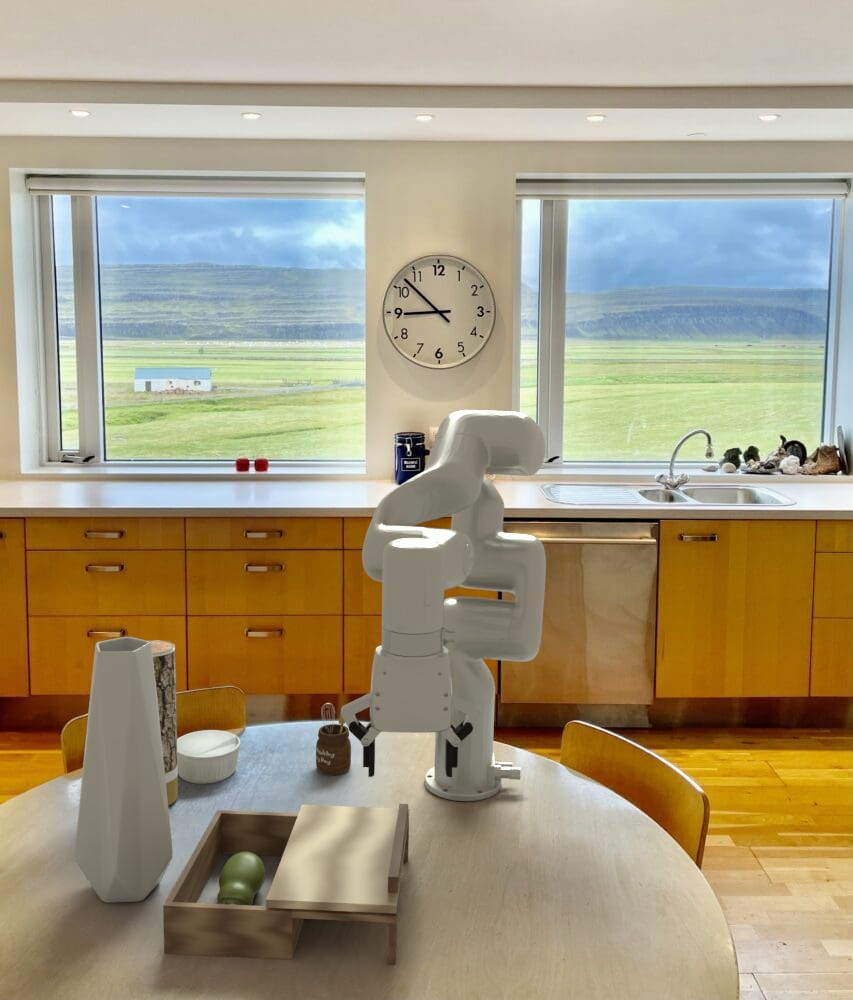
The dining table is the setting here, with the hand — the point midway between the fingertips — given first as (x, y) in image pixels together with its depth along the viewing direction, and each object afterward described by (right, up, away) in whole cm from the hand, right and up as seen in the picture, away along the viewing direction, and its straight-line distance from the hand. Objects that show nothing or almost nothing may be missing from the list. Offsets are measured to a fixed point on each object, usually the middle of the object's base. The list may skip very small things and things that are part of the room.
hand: (410, 772), depth 114 cm
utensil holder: (-14, -12, +42) cm, 46 cm away
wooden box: (-14, -17, +3) cm, 23 cm away
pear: (-22, -18, +3) cm, 28 cm away
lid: (-8, -11, +2) cm, 14 cm away
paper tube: (-40, -13, +29) cm, 51 cm away
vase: (-37, -17, +5) cm, 41 cm away
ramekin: (-35, -12, +40) cm, 54 cm away
